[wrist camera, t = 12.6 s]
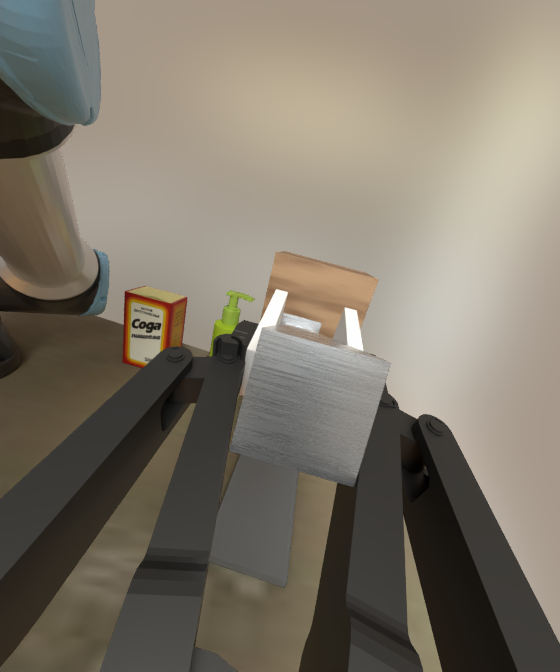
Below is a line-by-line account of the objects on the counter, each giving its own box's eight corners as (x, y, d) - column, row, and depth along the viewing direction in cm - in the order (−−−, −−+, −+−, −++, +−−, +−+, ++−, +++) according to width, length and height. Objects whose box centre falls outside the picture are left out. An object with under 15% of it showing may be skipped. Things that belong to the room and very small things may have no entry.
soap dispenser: (232, 390, 55) (250, 300, 48) (201, 381, 56) (215, 290, 49) (240, 377, 61) (257, 294, 54) (212, 368, 61) (225, 286, 54)
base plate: (284, 587, 26) (286, 581, 26) (200, 558, 27) (201, 552, 26) (297, 469, 40) (299, 464, 40) (242, 451, 41) (243, 446, 40)
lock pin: (374, 493, 7) (426, 325, 7) (208, 445, 7) (251, 278, 7) (309, 357, 35) (319, 322, 35) (275, 347, 35) (284, 313, 35)
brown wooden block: (313, 452, 44) (378, 279, 34) (235, 428, 45) (275, 252, 35) (315, 416, 54) (366, 272, 43) (250, 397, 54) (285, 251, 44)
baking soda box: (122, 362, 55) (124, 289, 49) (141, 350, 61) (145, 284, 56) (165, 374, 55) (172, 302, 49) (179, 361, 61) (187, 295, 55)
